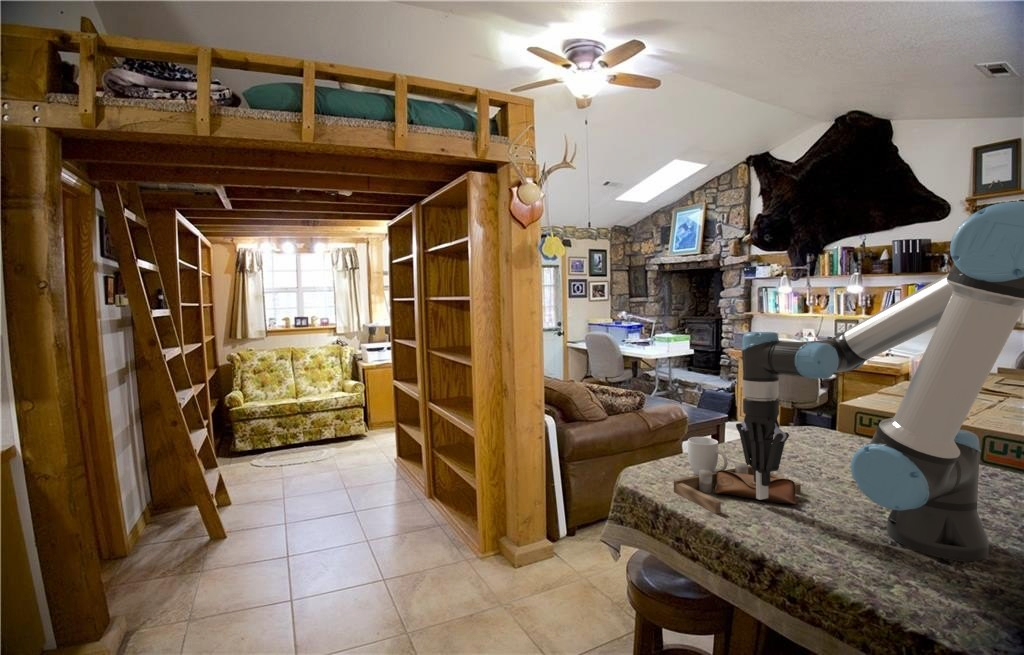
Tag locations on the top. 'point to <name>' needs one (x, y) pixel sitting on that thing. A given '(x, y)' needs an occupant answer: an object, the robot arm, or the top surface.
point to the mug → (704, 454)
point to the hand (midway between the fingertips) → (762, 498)
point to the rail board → (705, 483)
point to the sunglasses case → (754, 487)
